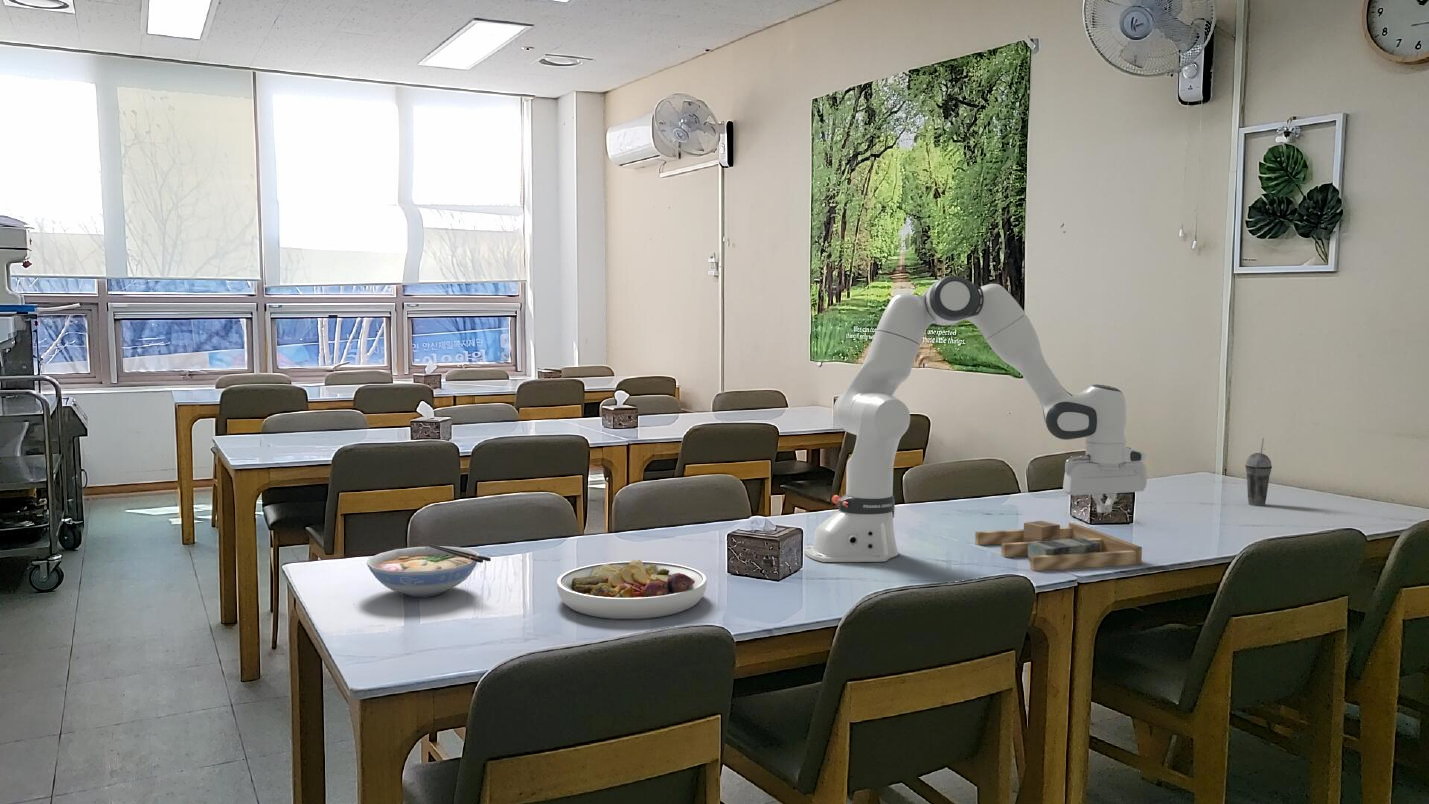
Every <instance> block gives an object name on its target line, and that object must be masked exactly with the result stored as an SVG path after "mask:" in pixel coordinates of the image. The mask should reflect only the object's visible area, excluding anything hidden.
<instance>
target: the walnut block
mask: <svg viewBox="0 0 1429 804" xmlns="http://www.w3.org/2000/svg"><path fill="white" fill-rule="evenodd" d="M1060 527H1061V525H1060V524H1058V523H1053V522H1049V521H1045V520H1038V521H1036V520H1035V521H1030V522H1029V521H1028V522H1024V523H1023V529H1024V542H1036V541H1046V540H1047V539H1049V540H1060Z"/></svg>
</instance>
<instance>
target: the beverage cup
mask: <svg viewBox="0 0 1429 804" xmlns="http://www.w3.org/2000/svg"><path fill="white" fill-rule="evenodd" d="M1264 442H1265V438H1261V444H1260V451H1259V452H1255V453H1252V454H1250V455H1249V456H1248V458H1247V459H1246V462H1245V465H1244V466H1245V471H1246V472H1245V473H1246V484H1247V485H1246V486H1247V500H1248V501H1247V502H1248V503H1247V505H1250V506H1255V507H1264V506H1266V501H1267V496H1268V489H1269V482H1270V476H1271V472H1272V468H1273V465H1272V461H1271V459H1270V458H1269V456H1268V455H1266V454H1265V453H1263V448H1264V447H1263V446H1264Z"/></svg>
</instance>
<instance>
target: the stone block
mask: <svg viewBox="0 0 1429 804" xmlns="http://www.w3.org/2000/svg"><path fill="white" fill-rule="evenodd" d="M1027 550H1028V556H1027V557H1028V561H1030V557H1031V556H1041V555H1059V554H1076V553H1094V552H1100V543H1098V542H1094V541H1091V540H1088V539H1084V538H1081V537H1078V538H1069V539H1061V540H1049V539H1047V540H1046V541H1039V542H1031V543H1028V549H1027Z"/></svg>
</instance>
